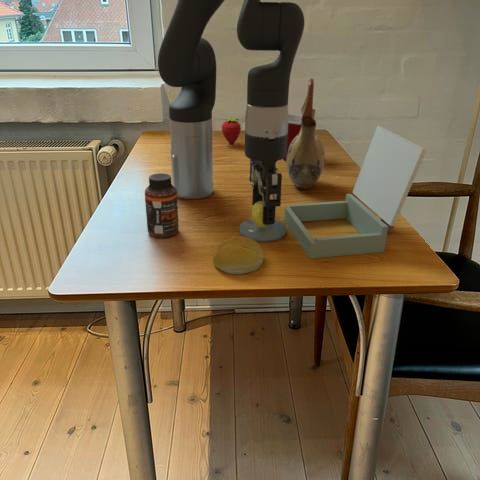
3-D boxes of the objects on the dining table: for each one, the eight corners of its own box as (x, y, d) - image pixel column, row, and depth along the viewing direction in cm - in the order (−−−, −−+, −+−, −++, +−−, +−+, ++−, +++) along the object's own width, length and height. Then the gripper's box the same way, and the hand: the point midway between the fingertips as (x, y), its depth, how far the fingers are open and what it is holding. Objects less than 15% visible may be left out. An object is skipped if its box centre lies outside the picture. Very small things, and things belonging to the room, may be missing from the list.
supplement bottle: (165, 242, 85) (161, 184, 80) (141, 234, 88) (135, 177, 83) (185, 230, 89) (182, 174, 84) (161, 223, 92) (157, 169, 87)
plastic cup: (314, 165, 126) (318, 121, 121) (275, 164, 127) (277, 121, 121) (310, 154, 136) (313, 113, 131) (273, 153, 136) (275, 112, 131)
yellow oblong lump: (248, 230, 85) (249, 211, 83) (252, 213, 92) (253, 195, 90) (271, 231, 85) (272, 212, 83) (273, 214, 92) (274, 196, 90)
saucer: (244, 243, 85) (244, 239, 84) (235, 223, 93) (235, 219, 92) (291, 239, 86) (291, 235, 86) (278, 220, 94) (278, 216, 94)
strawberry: (221, 148, 140) (221, 115, 135) (222, 142, 147) (221, 110, 142) (240, 148, 140) (241, 115, 136) (240, 142, 147) (240, 110, 142)
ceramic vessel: (323, 199, 105) (334, 84, 93) (283, 196, 106) (290, 83, 94) (320, 175, 119) (330, 74, 108) (286, 173, 120) (292, 73, 109)
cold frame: (309, 258, 80) (312, 232, 78) (283, 220, 94) (285, 198, 92) (383, 251, 83) (388, 226, 80) (347, 215, 96) (350, 193, 94)
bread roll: (208, 273, 76) (208, 252, 74) (222, 248, 84) (222, 228, 82) (257, 280, 74) (258, 258, 72) (267, 253, 82) (268, 233, 80)
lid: (422, 148, 75) (426, 149, 75) (377, 125, 89) (381, 126, 89) (390, 225, 80) (393, 226, 80) (352, 192, 94) (355, 193, 94)
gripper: (237, 121, 86) (236, 202, 93) (254, 141, 74) (252, 232, 81) (276, 120, 87) (272, 199, 95) (299, 139, 75) (292, 229, 82)
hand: (263, 214), depth 88 cm, fingers closed on yellow oblong lump, 8 cm apart
